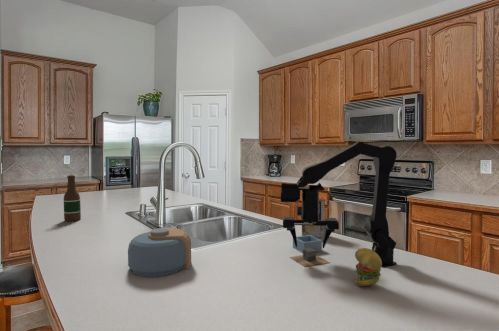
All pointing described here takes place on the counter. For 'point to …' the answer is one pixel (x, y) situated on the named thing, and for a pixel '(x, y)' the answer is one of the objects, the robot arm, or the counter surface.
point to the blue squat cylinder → (159, 252)
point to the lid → (309, 258)
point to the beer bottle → (72, 201)
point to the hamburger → (367, 267)
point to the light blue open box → (308, 243)
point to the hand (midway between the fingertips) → (309, 247)
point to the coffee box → (316, 230)
